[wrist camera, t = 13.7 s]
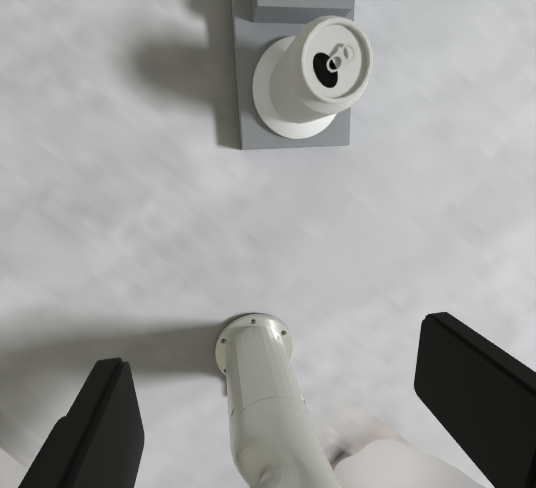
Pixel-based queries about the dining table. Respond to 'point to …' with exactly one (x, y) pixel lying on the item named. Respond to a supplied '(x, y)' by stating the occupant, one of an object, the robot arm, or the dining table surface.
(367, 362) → the dining table surface
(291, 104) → the can
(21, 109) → the dining table surface
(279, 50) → the scale
